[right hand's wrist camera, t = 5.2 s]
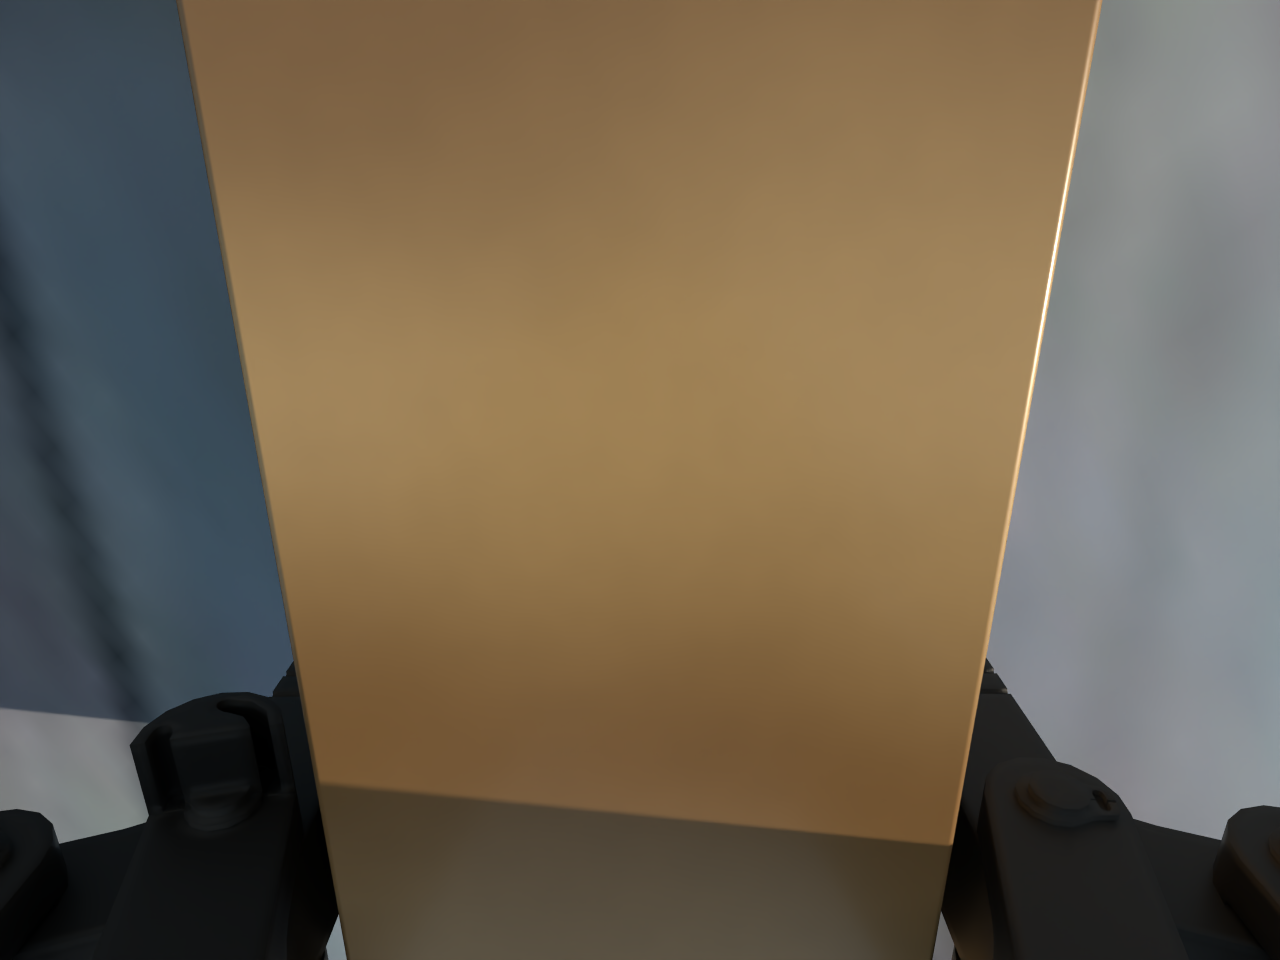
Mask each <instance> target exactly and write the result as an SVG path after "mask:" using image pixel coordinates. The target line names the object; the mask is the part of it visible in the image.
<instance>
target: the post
mask: <svg viewBox="0 0 1280 960" xmlns="http://www.w3.org/2000/svg"><path fill="white" fill-rule="evenodd" d="M176 2H177V8H178V14H179V19H180V25H181V31H182V36H183V42H184V47H185V53H186V59H187V64H188V70H189V75H190V81H191V87H192V92H193V98H194V104H195V109H196V115H197V120H198V126H199V132H200V137H201V143H202V148H203V154H204V160H205V165H206V171H207V177H208V182H209V188H210V193H211V199H212V205H213V210H214V216H215V221H216V227H217V233H218V238H219V244H220V250H221V255H222V261H223V266H224V272H225V278H226V283H227V289H228V294H229V300H230V306H231V311H232V317H233V323H234V328H235V334H236V339H237V345H238V351H239V356H240V362H241V367H242V373H243V379H244V384H245V390H246V396H247V401H248V407H249V412H250V418H251V424H252V429H253V435H254V440H255V446H256V452H257V457H258V463H259V469H260V474H261V480H262V485H263V491H264V497H265V502H266V508H267V513H268V519H269V525H270V530H271V536H272V542H273V547H274V553H275V558H276V564H277V570H278V575H279V581H280V586H281V592H282V598H283V603H284V609H285V615H286V620H287V626H288V631H289V637H290V643H291V648H292V654H293V659H294V665H295V671H296V676H297V682H298V688H299V693H300V699H301V704H302V710H303V716H304V721H305V727H306V732H307V738H308V744H309V749H310V755H311V761H312V766H313V772H314V777H315V783H316V789H317V794H318V800H319V805H320V811H321V817H322V822H323V828H324V833H325V839H326V845H327V850H328V856H329V862H330V867H331V873H332V878H333V884H334V890H335V895H336V901H337V906H338V912H339V918H340V923H341V929H342V935H343V940H344V946H345V951H346V957H347V960H932V958H933V953H934V947H935V941H936V936H937V930H938V924H939V919H940V913H941V908H942V902H943V896H944V891H945V885H946V879H947V874H948V868H949V862H950V857H951V851H952V845H953V840H954V834H955V829H956V823H957V817H958V812H959V806H960V800H961V795H962V789H963V783H964V778H965V772H966V766H967V761H968V755H969V750H970V744H971V738H972V733H973V727H974V721H975V716H976V710H977V704H978V699H979V693H980V687H981V682H982V676H983V671H984V665H985V659H986V654H987V648H988V642H989V637H990V631H991V625H992V620H993V614H994V608H995V603H996V597H997V592H998V586H999V580H1000V575H1001V569H1002V563H1003V558H1004V552H1005V546H1006V541H1007V535H1008V529H1009V524H1010V518H1011V513H1012V507H1013V501H1014V496H1015V490H1016V484H1017V479H1018V473H1019V467H1020V462H1021V456H1022V450H1023V445H1024V439H1025V434H1026V428H1027V422H1028V417H1029V411H1030V405H1031V400H1032V394H1033V388H1034V383H1035V377H1036V371H1037V366H1038V360H1039V355H1040V349H1041V343H1042V338H1043V332H1044V326H1045V321H1046V315H1047V309H1048V304H1049V298H1050V292H1051V287H1052V281H1053V276H1054V270H1055V264H1056V259H1057V253H1058V247H1059V242H1060V236H1061V230H1062V225H1063V219H1064V213H1065V208H1066V202H1067V197H1068V191H1069V185H1070V180H1071V174H1072V168H1073V163H1074V157H1075V151H1076V146H1077V140H1078V134H1079V129H1080V123H1081V118H1082V112H1083V106H1084V101H1085V95H1086V89H1087V84H1088V78H1089V72H1090V67H1091V61H1092V55H1093V50H1094V44H1095V39H1096V33H1097V27H1098V22H1099V16H1100V10H1101V5H1102V0H176Z"/></svg>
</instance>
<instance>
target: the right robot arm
mask: <svg viewBox="0 0 1280 960" xmlns="http://www.w3.org/2000/svg"><path fill="white" fill-rule="evenodd" d="M993 670H994V669H993V667H992V666H991V664H990V663H989V661H988V660H987V658H986V659H985V665H984V671H983V676H982V682H981V687H980V693H979V699H978V704H977V710H976V716H975V721H974V727H973V733H972V738H971V744H970V750H969V755H968V761H967V766H966V772H965V778H964V783H963V789H962V795H961V800H960V806H959V812H958V817H957V823H956V829H955V834H954V840H953V845H952V851H951V857H950V862H949V868H948V874H947V879H946V885H945V891H944V896H943V902H942V908H941V912H942V914H943V917H944V919H945V922H946V924H947V927H948V929H949V932H950V934H951V937H952V939H953V942H954V950H953V955H952V960H1280V807H1272V806H1265V805H1263V806H1257V807H1251V808H1244V809H1240V810H1239V811H1238V812H1237V813H1236V814H1235V815H1233V816H1232V817H1231V818H1230V819H1229V820H1228V822H1227V825H1226V828H1225V831H1224V834H1223V837H1222V840H1217V839H1213V838H1209V837H1204V836H1200V835H1195V834H1191V833H1187V832H1182V831H1178V830H1173V829H1169V828H1164V827H1160V826H1156V825H1152V824H1149V823H1146V822H1142V821H1139V820H1136V819H1133V818H1132V815H1131V813H1130V812H1129V810H1128V809H1127V807H1126V806H1125V804H1124V803H1123V802H1122V800H1121V799H1120V797H1119V796H1118V795H1117V794H1116V793H1115V792H1114V791H1112V790H1111V789H1110V788H1109V787H1107V786H1106V785H1105V784H1104V783H1102V782H1101V781H1100V780H1099V779H1097V778H1096V777H1094V776H1092V775H1090V774H1088V773H1086V772H1084V771H1082V770H1080V769H1078V768H1075V767H1073V766H1071V765H1068V764H1064V763H1060V762H1057V761H1056V760H1055V758H1054V757H1053V756H1052V754H1051V753H1050V751H1049V750H1048V748H1047V747H1046V745H1045V744H1044V742H1043V741H1042V739H1041V738H1040V736H1039V735H1038V733H1037V732H1036V730H1035V729H1034V728H1033V726H1032V725H1031V723H1030V722H1029V720H1028V719H1027V717H1026V716H1025V714H1024V713H1023V711H1022V710H1021V708H1020V707H1019V705H1018V704H1017V702H1016V701H1015V700H1014V698H1013V697H1012V695H1011V694H1008V693H1007V688H1006V686H1005V685H1004V683H1003V682H1002V680H1001V679H1000V677H999V676H998V675H997V673H994V671H993ZM286 672H287V674H286V676H283V677H282V679H281V680H280V682H279V683H278V685H277V686H276V688H275V689H274V691H273V696H272V697H265V696H261V695H258V694H254V693H250V692H234V693H219V694H215V695H211V696H207V697H202V698H198V699H194V700H191V701H189V702H187V703H184V704H182V705H180V706H178V707H175V708H173V709H171V710H168V711H166V712H165V713H163V714H162V715H161V716H159V717H158V718H156V719H155V720H153V721H152V722H151V723H149V724H148V725H146V726H145V727H144V728H143V729H142V730H141V731H140V733H139V734H138V735H137V737H136V738H135V739H134V740H133V742H132V743H131V744H130V748H131V752H132V755H133V759H134V763H135V766H136V770H137V774H138V777H139V781H140V785H141V788H142V792H143V795H144V799H145V803H146V806H147V810H148V814H149V817H148V819H147V822H146V823H143V824H139V825H136V826H133V827H129V828H126V829H122V830H118V831H113V832H109V833H105V834H100V835H96V836H91V837H87V838H83V839H78V840H74V841H69V842H65V843H61V844H59V842H58V839H57V836H56V833H55V830H54V827H53V824H52V823H51V822H50V821H49V820H47V819H46V818H45V817H44V816H43V815H42V814H41V813H38V812H32V811H26V810H20V809H14V810H6V811H0V960H328V955H327V950H326V945H327V942H328V940H329V937H330V935H331V932H332V930H333V927H334V925H335V922H336V920H337V917H338V914H339V912H338V906H337V901H336V895H335V890H334V884H333V878H332V873H331V867H330V862H329V856H328V850H327V845H326V839H325V833H324V828H323V822H322V817H321V811H320V805H319V800H318V794H317V789H316V783H315V777H314V772H313V766H312V761H311V755H310V749H309V744H308V738H307V732H306V727H305V721H304V716H303V710H302V704H301V699H300V693H299V688H298V682H297V676H296V671H295V665H294V661H293V663H292V664H291V666H290V667H289V669H288V670H287V671H286Z"/></svg>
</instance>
